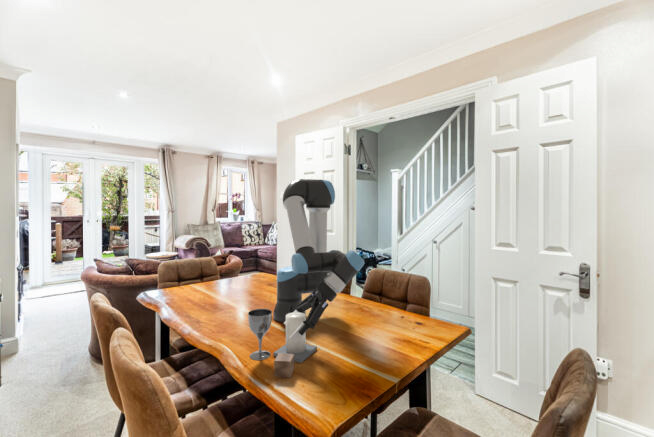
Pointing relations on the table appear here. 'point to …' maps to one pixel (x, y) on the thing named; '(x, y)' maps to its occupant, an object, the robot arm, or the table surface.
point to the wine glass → (260, 329)
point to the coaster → (300, 356)
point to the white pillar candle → (291, 326)
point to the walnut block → (284, 365)
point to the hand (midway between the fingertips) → (289, 332)
